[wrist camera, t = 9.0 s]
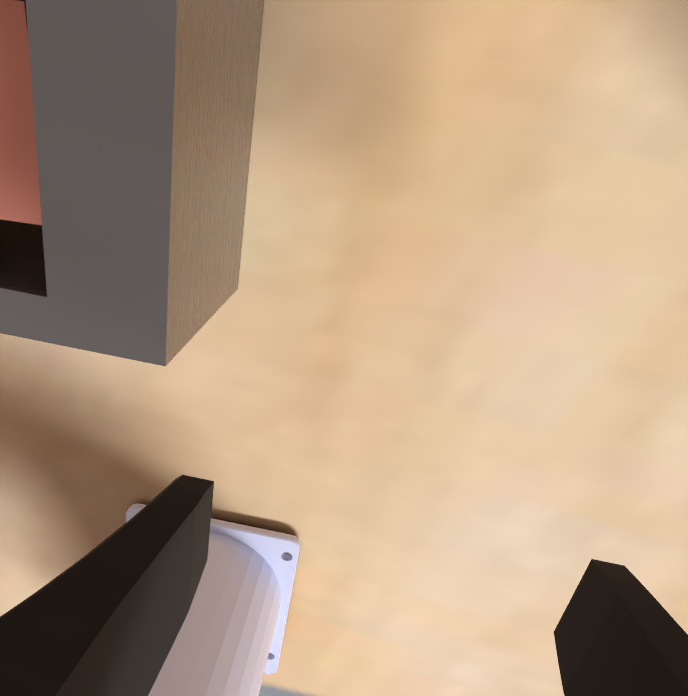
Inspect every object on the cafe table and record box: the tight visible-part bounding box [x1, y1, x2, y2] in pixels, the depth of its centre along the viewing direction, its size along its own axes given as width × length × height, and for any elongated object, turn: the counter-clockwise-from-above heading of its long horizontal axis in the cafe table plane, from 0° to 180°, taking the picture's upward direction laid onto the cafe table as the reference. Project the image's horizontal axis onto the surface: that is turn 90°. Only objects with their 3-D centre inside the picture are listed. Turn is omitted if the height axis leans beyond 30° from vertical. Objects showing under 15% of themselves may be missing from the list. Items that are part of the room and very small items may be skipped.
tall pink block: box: [0, 0, 42, 225], centre depth 15 cm, size 5×2×5 cm, turn 173°
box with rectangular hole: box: [0, 0, 264, 366], centre depth 14 cm, size 10×10×6 cm
